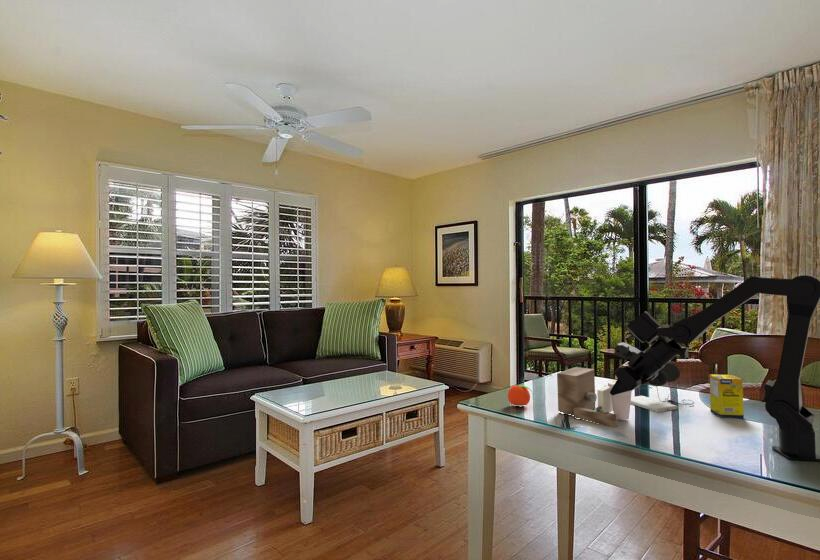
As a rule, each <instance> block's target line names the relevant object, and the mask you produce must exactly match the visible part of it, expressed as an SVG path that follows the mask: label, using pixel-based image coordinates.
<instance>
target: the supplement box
mask: <svg viewBox="0 0 820 560" xmlns="http://www.w3.org/2000/svg"><path fill="white" fill-rule="evenodd" d="M708 377H709V399H710V400H709V402H710V404H709V405H710V412H711V413H713V414H715V415H717V417H718V416H719V417H720V418H737V419H744V418H745V417H744V415H745V414H744V413H745V412H744V387H743V385H744V383H743V381H744V380H743V378H740V377H738V376H735V375H733V374H716V373H715V374H714V373H713V374H712V373H711V374H709V375H708Z"/></svg>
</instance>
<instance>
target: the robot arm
mask: <svg viewBox="0 0 820 560" xmlns="http://www.w3.org/2000/svg"><path fill="white" fill-rule="evenodd" d="M758 294H764V295H773V296H781V297H782V296H784V297H786V303H787V304H786V306H787V315H788V317H787V324H786V328H785V334H784V339H783V340H784V341H783V345H782V350H781V356H780V361H779V367H778V373H777V377H776V379H775V381H773V380H771V379H768V380H767V382H766V383H765V385H764V397H763V399H762V400H761V402H762V403H765V404H764V407H765V411H766V413H768V414H769V416H770V417H772V418H773V419H775V421H776V422H777V423H776V424H777V425H778V443H779V444H778V445H779V446H776V445H775V446H774V445H773V446H771V449H772V450H774V451H775V452H776V453H779V454H781V455H782V456H783V457H784V458H787V459H789V460H791V461H792V460H793V461H813V462H814V461H815V462H818V461H819V462H820V455H818V454H817V451H816V448H817V447H816V431H815V429H814V428H813V427H814V423H815V419H816V415H815V414H814V413H812V411H810V410H809V409H808V408H807V407H805V406H804V405H803V398H802V396H803V394H802V386H801V385H802V384H801V375H802V370H803V365H804V359H805V355H806V354H805V353H806V349H807V345H808V344H807V343H808V339H809V333H810V329H811V328H810V327H811V324H812V317H813V316H814V315H815V311H816V310H817V308H818V305H819V303H820V278H819V277H817V276H815V275H809V274H803V275H798V276H795V277H793V278H779V277H777V278H776V277H762V276H758V275H754V276H748V277H747V278H746V279H745V280H744V281H743V282H742V283H740V284H739V285H737V286H736V287H734V288H733V289H731V290H730V291H729V292H727V293H725V294H724V295H723V296H721V297H720V298H719V299H717V300H716V301H713V302H712V303H711V304H709V305H707V307H705V308H704V309H702V310H700V311H699V312H696V313H694V314H692V315H689V316H687V317H684V318H682V319H680V320H679V321H676V322H674V323H672V324H665V325H662V324H660V323H659V321H658V320H656V319H655V318H654V316H652V315H651V314H650V313H649V312H648V311H643V312H642V313H641V314H640V315H638V316H637V317H635V318H634V319H632V320H631V321H629V323H627V325H626V329H627V330H628V331H629V332H630V333H631V334H632V335H633V336H635V338H636V339H638V340H639V341H640V342H641V344H643V343H647V344H650V343H652V342H653V343H652V344H651V345H650V346H649V347H647V348H646V349H644V350H639V349H638V348H637V347H634V346H633V345H630V344H628V343H626V342H624V341H623V342H619V343H617V345H616V346H615V347H614V351H613V355H614V356H616V357H620V358H621V359H624V360H626V361H627V364H628V365H621V366H619V367H617V368H616V369H614V371H613V374H614V375H615V377H616V378H617V379H616V380H615V381H616V383H615V384H614V386H613V387H612V389H611V391H610V394H611V395H616V394H620V393H623V392H627V391H632V392H633V391H634V390H636V389H637V388H638V387H640V386H641V385H644V384H647V383H648V382H649V379H650V380H652V379H654V378H655V377H656V376H658V371H659V370H660V369H662V368H663V367H664V366H665V365H666V364H667V363H670V361H671V360H672V359H673V358H674V357H675V356H676V357H677V356H679V357H680V358H681V359H683V360H684V359H687V358H689V356H690V355H689V347H687V346H682V345H687V344H690V343H693V342H695V341H697V340H698V339H699V338H700V337H702V335H704V334H705V332H707V331H708V330H709V329H710V327H711V326H712V325H714V323H716V322H717V321H719V320H720V319H721V318H724V317H725V316H726V315H728V314H729V313H731V312H732V311H734V310H735V309H737V308H739V307H740V306H741V305H743V304H744V303H746V302H748V301H749V300H751V299H753V298H754V297H755V296H757V295H758ZM670 339H671V340H670Z"/></svg>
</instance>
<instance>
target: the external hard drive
mask: <svg viewBox="0 0 820 560" xmlns="http://www.w3.org/2000/svg"><path fill="white" fill-rule="evenodd" d="M662 401H663V400H661V401H660V399H655V398H651V397H648V396H646V395H645V396H644V395H637V396H631V402H630V405H633V406H635V407H639V408H643V409H646V410H648V411H652V412H655V413H660V412H666V411H672V410H673V411H674V410H677V409H678V405H675V404H672V403H670V402H667V401H663V402H662Z"/></svg>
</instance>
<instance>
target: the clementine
mask: <svg viewBox="0 0 820 560" xmlns="http://www.w3.org/2000/svg"><path fill="white" fill-rule="evenodd" d="M530 392H531V393H532V395H534V394H533V391H532V390H531V388H529V387H528V386H526V385H522V384H514V385H513V386H511V387H510V388H509V389H508V392H507V400H508V402H509V403H510V404H511V405H512V404H514V405H526V406H527V405H528V404H529V403H530V401H531V393H530Z"/></svg>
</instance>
